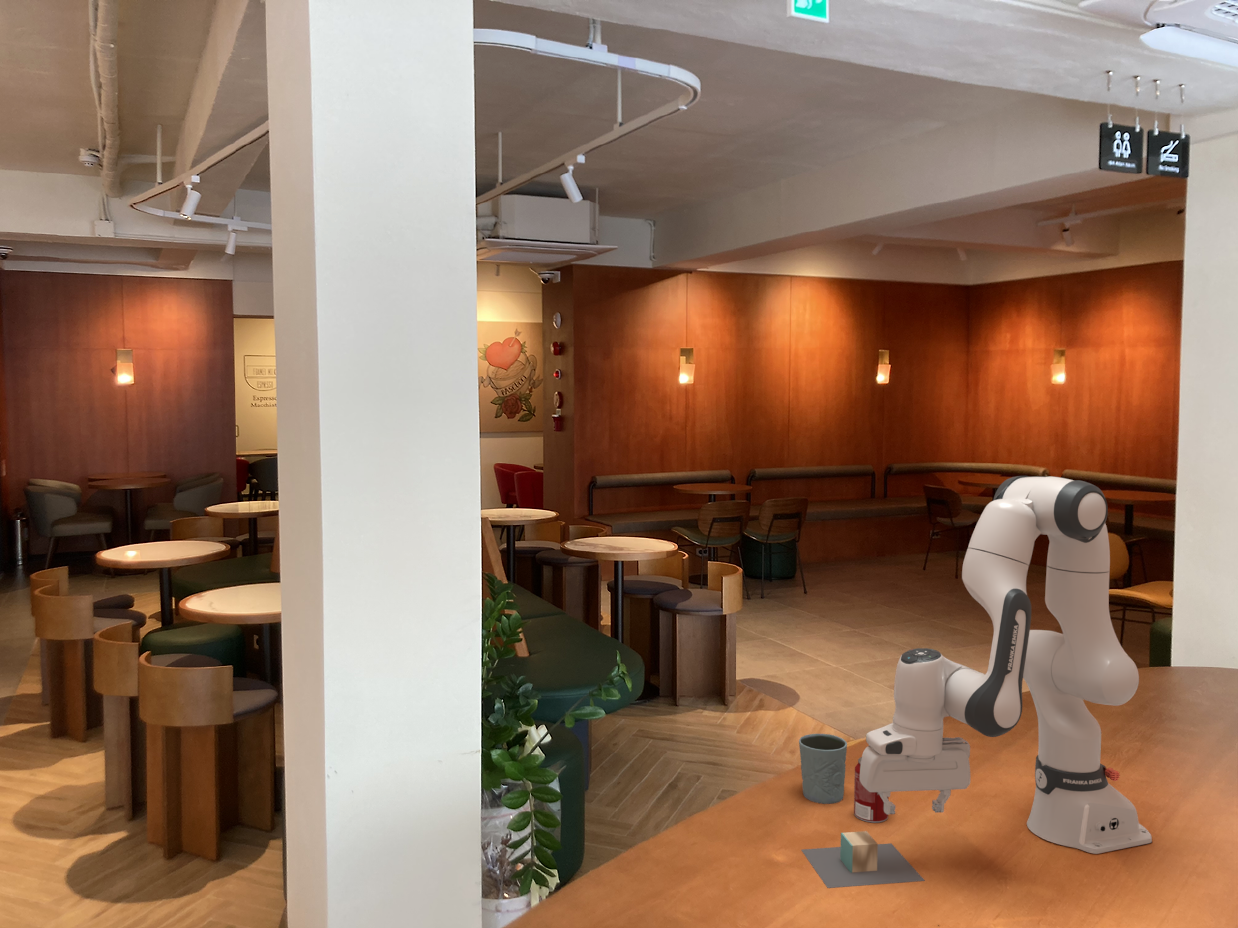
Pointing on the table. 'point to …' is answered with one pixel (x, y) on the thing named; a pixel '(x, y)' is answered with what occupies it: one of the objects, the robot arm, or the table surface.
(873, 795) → the soda can
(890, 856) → the rubber mat
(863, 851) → the maple cube
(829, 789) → the grey blue cup
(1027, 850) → the table surface
